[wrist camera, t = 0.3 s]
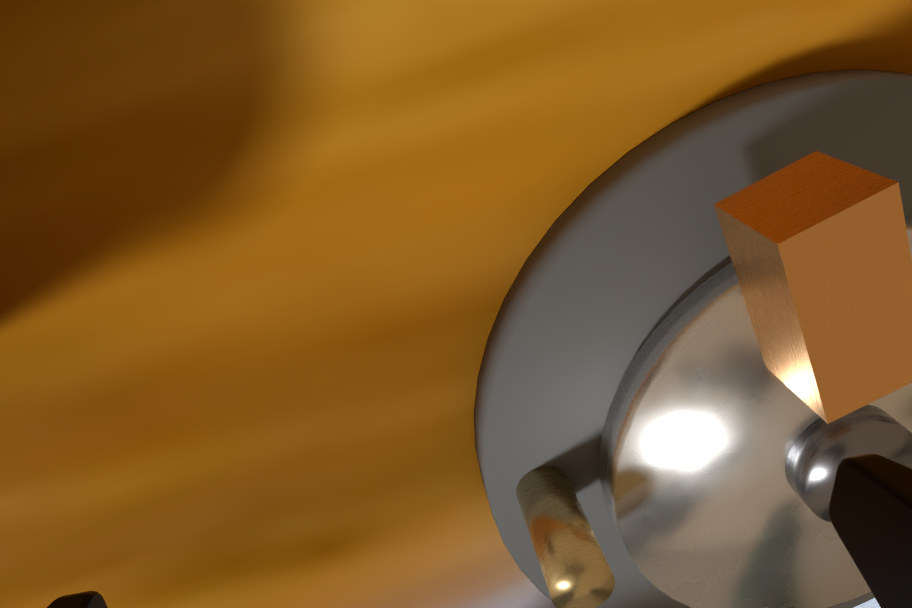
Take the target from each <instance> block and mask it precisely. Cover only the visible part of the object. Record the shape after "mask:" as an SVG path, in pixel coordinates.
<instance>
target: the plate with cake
mask: <svg viewBox="0 0 912 608" xmlns="http://www.w3.org/2000/svg"><path fill="white" fill-rule="evenodd" d="M714 207H715V211H716V214H717V217H718V220H719V223H720V226H721V229H722V232H723V235H724V239H725V242H726V245H727V248H728V251H729V254H730V257H731V260H732V262H731V263H730V264H728V265H727V266H725V267H724V268H723V269H721V270H720V271H718V272H717V273H716V274H714V275H713V276H712V277H710V278H709V279H707V280H706V281H705V282H703V283H702V284H701V285H699V286H698V287H697V288H696V289H695V290H694V291H693V292H692V293H690V294H689V295H688V296H687V297H686V298H685V299H684V300H683V301H682V302H680V303H679V304H678V305H677V306H676V307H675V308H674V309H673V310H672V311H671V312H670V313H669V315H668V316H667V317H666V318H665V319H664V320H663V321H662V322H661V323H660V324H659V326H658V327H657V328H656V329H655V330H654V331H653V332H652V334H651V335H650V336H649V338H648V339H647V340H646V342H645V343H644V345H643V346H642V347H641V349H640V350H639V352H638V353H637V354H636V356H635V357H634V359H633V360H632V362H631V364H630V366H629V367H628V369H627V371H626V373H625V375H624V376H623V378H622V380H621V382H620V383H619V386H618V388H617V390H616V393H615V395H614V398H613V400H612V403H611V405H610V408H609V410H608V413H607V417H606V421H605V425H604V429H603V433H602V437H601V447H600V456H599V470H600V484H601V489H602V493H603V498H604V502H605V505H606V508H607V510H608V512H609V515H610V517H611V519H612V522H613V524H614V526H615V528H616V530H617V532H618V534H619V536H620V538H621V540H622V542H623V544H624V546H625V548H626V550H627V552H628V554H629V556H630V557H631V559H632V560H633V562H634V563H635V565H636V566H637V568H638V569H639V571H640V572H641V573H642V574H643V575H644V576H645V577H646V578H647V579H648V580H649V581H650V582H651V583H652V584H653V585H654V586H655V587H656V588H658V589H659V590H660V591H662V592H663V593H665V594H666V595H668V596H669V597H670V598H672V599H674V600H676V601H678V602H680V603H682V604H685V605H687V606H689V607H691V608H828V607H831V606H834V605H837V604H840V603H843V602H846V601H849V600H852V599H855V598H857V597H859V596H862V595H864V594H866V593H869V592H871V590H870V588H869V587H868V585H867V583H866V581H865V580H864V578H863V576H862V575H861V573H860V571H859V570H858V568H857V566H856V564H855V563H854V561H853V559H852V558H851V556H850V554H849V553H848V551H847V549H846V547H845V546H844V544H843V542H842V541H841V539H840V537H839V536H838V534H837V532H836V530H835V529H834V527H833V525H832V522H831V520H830V516H829V502H830V497H831V493H832V488H833V484H834V479H835V475H836V470H837V467H838V464H839V463H840V462H841V461H842V459H844V458H847V457H852V456H858V455H864V454H878V455H881V456H883V457H886V458H888V459H890V460H892V461H895V462H897V463H899V464H902V465H904V466H906V467H909V468H911V469H912V216H904V212H903V206H902V200H901V194H900V188H899V182H897V181H894V180H891V179H889V178H886V177H883V176H881V175H878V174H876V173H873V172H870V171H868V170H865V169H862V168H860V167H857V166H855V165H852V164H849V163H847V162H844V161H841V160H839V159H836V158H833V157H831V156H828V155H826V154H823V153H820V152H818V151H815V152H813V153H811V154H809V155H807V156H805V157H803V158H801V159H799V160H798V161H796V162H794V163H792V164H790V165H788V166H786V167H784V168H782V169H780V170H778V171H776V172H775V173H773V174H771V175H769V176H767V177H765V178H763V179H761V180H759V181H757V182H755V183H753V184H752V185H750V186H748V187H746V188H744V189H742V190H740V191H738V192H736V193H734V194H732V195H730V196H729V197H727V198H725V199H723V200H721V201H719V202H717V203H715V204H714Z"/></svg>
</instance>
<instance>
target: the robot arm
mask: <svg viewBox="0 0 912 608" xmlns="http://www.w3.org/2000/svg"><path fill="white" fill-rule="evenodd" d="M829 516H830V520H831V522H832V525H833V527H834V529H835V530H836V532H837V534H838V536H839V537H840V539H841V541H842V542H843V544H844V546H845V547H846V549H847V551H848V553H849V554H850V556H851V558H852V559H853V561H854V563H855V564H856V566H857V568H858V570H859V571H860V573H861V575H862V576H863V578H864V580H865V581H866V583H867V585H868V587H869V588H870V590H871V592H872V593H873V595H874V597H875V598H876V600H877V602H878V604H879V605H880V607H881V608H912V469H911V468H909V467H906V466H904V465H902V464H899V463H897V462H895V461H892V460H890V459H888V458H886V457H883V456H881V455H878V454H864V455H858V456H852V457H847V458H844V459H842V461H841V462H840V463H839V464H838V467H837V470H836V475H835V479H834V484H833V488H832V493H831V497H830V502H829ZM47 608H108V607H107V605H106V603H105V601H104V599H103V597H102V596H101V595H100V594H99V593H98V592H96V591H88V592H82V593H76V594H71V595H65V596H62V597H59V598H57V599H56V600H54V601H53V602H52V603H51V604H50V605H49V606H48V607H47Z"/></svg>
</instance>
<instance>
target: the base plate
mask: <svg viewBox="0 0 912 608" xmlns="http://www.w3.org/2000/svg"><path fill="white" fill-rule="evenodd" d="M815 151H818V152H820V153H823V154H826V155H828V156H831V157H833V158H836V159H839V160H841V161H844V162H847V163H849V164H852V165H855V166H857V167H860V168H862V169H865V170H868V171H870V172H873V173H876V174H878V175H881V176H883V177H886V178H889V179H891V180H894V181H897V182H899V188H900V194H901V200H902V206H903V212H904V216H912V74H906V73H901V72H888V71H874V70H860V69H854V70H842V71H829V72H817V73H809V74H804V75H800V76H795V77H791V78H786V79H782V80H777V81H773V82H768V83H764V84H761V85H758V86H756V87H753V88H750V89H747V90H745V91H742V92H739V93H736V94H734V95H731V96H728V97H725V98H723V99H720V100H717V101H715V102H713V103H711V104H709V105H707V106H705V107H703V108H701V109H699V110H697V111H695V112H693V113H691V114H689V115H687V116H686V117H684V118H682V119H680V120H678V121H676V122H674V123H672V124H670V125H669V126H667V127H666V128H664V129H662V130H661V131H659V132H658V133H656V134H655V135H653V136H652V137H650V138H649V139H647V140H646V141H644V142H643V143H641V144H640V145H638V146H637V147H635V148H634V149H632V150H631V151H629V152H628V153H627V154H626V155H624V156H623V157H622V158H621V159H620V160H618V161H617V162H616V163H615V164H614V165H612V166H611V167H610V168H609V169H608V170H607V171H605V172H604V173H603V174H602V175H601V176H599V177H598V178H597V179H596V180H595V181H594V182H592V183H591V184H590V185H589V186H588V187H587V188H586V189H585V190H584V191H583V192H582V193H581V194H580V195H579V196H578V198H577V199H576V200H575V201H574V202H573V203H572V204H571V205H570V206H569V207H568V208H567V209H566V210H565V211H564V212H563V213H562V215H561V216H560V217H559V218H558V219H557V220H556V221H555V222H554V223H553V225H552V226H551V227H550V229H549V230H548V231H547V233H546V234H545V235H544V237H543V238H542V240H541V241H540V242H539V244H538V245H537V246H536V248H535V249H534V250H533V252H532V253H531V254H530V256H529V257H528V258H527V260H526V261H525V263H524V265H523V267H522V268H521V270H520V272H519V274H518V275H517V277H516V279H515V281H514V282H513V284H512V286H511V288H510V290H509V291H508V293H507V295H506V297H505V298H504V300H503V303H502V305H501V308H500V310H499V312H498V315H497V317H496V320H495V322H494V325H493V327H492V330H491V332H490V334H489V337H488V340H487V344H486V347H485V351H484V355H483V359H482V363H481V367H480V371H479V374H478V380H477V389H476V398H475V408H474V427H475V447H476V452H477V457H478V462H479V466H480V471H481V476H482V480H483V483H484V487H485V490H486V494H487V497H488V501H489V504H490V508H491V511H492V515H493V517H494V520H495V522H496V525H497V527H498V530H499V532H500V535H501V537H502V540H503V542H504V544H505V546H506V547H507V549H508V551H509V552H510V554H511V555H512V557H513V559H514V560H515V562H516V563H517V565H518V566H519V568H520V570H521V571H522V572H523V573H524V574H525V575H526V576H527V577H528V578H529V579H530V580H531V582H532V583H533V584H534V585H535V586H536V587H537V588H538V589H539V590H540V591H541V592H542V593H543V594H545V595H546V596H547V597H548V598H550V599H551V596H550V593H549V590H548V587H547V584H546V582H545V579H544V576H543V573H542V570H541V567H540V564H539V561H538V558H537V555H536V552H535V549H534V546H533V544H532V541H531V538H530V535H529V532H528V529H527V526H526V523H525V520H524V517H523V514H522V511H521V508H520V506H519V503H518V500H517V497H516V488H517V485H518V483H519V481H520V480H521V478H522V477H523V476H524V475H525V474H527V473H528V472H530V471H531V470H533V469H536V468H539V467H544V466H552V467H556V468H559V469H561V470H563V471H564V472H565V473H566V474H567V476H568V478H569V480H570V482H571V484H572V486H573V488H574V491H575V493H576V495H577V497H578V499H579V502H580V504H581V506H582V508H583V510H584V512H585V515H586V517H587V519H588V521H589V523H590V526H591V528H592V530H593V532H594V534H595V537H596V539H597V541H598V543H599V545H600V547H601V550H602V552H603V554H604V556H605V558H606V561H607V563H608V565H609V567H610V569H611V571H612V574H613V576H614V579H615V587H614V590H613V592H612V594H611V595H610V597H609V598H608V599H607V600H606V601H605V602H604V603H602V604H601V605H599V606H598V607H596V608H691V607H689V606H687V605H685V604H682V603H680V602H678V601H676V600H674V599H672V598H670V597H669V596H668V595H666V594H665V593H663V592H662V591H660V590H659V589H658V588H656V587H655V586H654V585H653V584H652V583H651V582H650V581H649V580H648V579H647V578H646V577H645V576H644V575H643V574H642V573H641V572H640V571H639V569H638V568H637V566H636V565H635V563H634V562H633V560H632V559H631V557H630V556H629V554H628V552H627V550H626V548H625V546H624V544H623V542H622V540H621V538H620V536H619V534H618V532H617V530H616V528H615V526H614V524H613V522H612V519H611V517H610V515H609V512H608V510H607V508H606V505H605V502H604V498H603V493H602V489H601V484H600V470H599V456H600V447H601V437H602V433H603V429H604V425H605V421H606V417H607V413H608V410H609V408H610V405H611V403H612V400H613V398H614V395H615V393H616V390H617V388H618V386H619V383H620V382H621V380H622V378H623V376H624V375H625V373H626V371H627V369H628V367H629V366H630V364H631V362H632V360H633V359H634V357H635V356H636V354H637V353H638V352H639V350H640V349H641V347H642V346H643V345H644V343H645V342H646V340H647V339H648V338H649V336H650V335H651V334H652V332H653V331H654V330H655V329H656V328H657V327H658V326H659V324H660V323H661V322H662V321H663V320H664V319H665V318H666V317H667V316H668V315H669V313H670V312H671V311H672V310H673V309H674V308H675V307H676V306H677V305H678V304H679V303H680V302H682V301H683V300H684V299H685V298H686V297H687V296H688V295H689V294H690V293H692V292H693V291H694V290H695V289H696V288H697V287H698V286H699V285H701V284H702V283H703V282H705V281H706V280H707V279H709V278H710V277H712V276H713V275H714V274H716V273H717V272H718V271H720V270H721V269H723V268H724V267H725V266H727V265H728V264H730V263H731V262H732V260H731V257H730V254H729V251H728V248H727V245H726V242H725V239H724V235H723V232H722V229H721V226H720V223H719V220H718V217H717V214H716V211H715V207H714V204H715V203H717V202H719V201H721V200H723V199H725V198H727V197H729V196H730V195H732V194H734V193H736V192H738V191H740V190H742V189H744V188H746V187H748V186H750V185H752V184H753V183H755V182H757V181H759V180H761V179H763V178H765V177H767V176H769V175H771V174H773V173H775V172H776V171H778V170H780V169H782V168H784V167H786V166H788V165H790V164H792V163H794V162H796V161H798V160H799V159H801V158H803V157H805V156H807V155H809V154H811V153H813V152H815ZM873 598H874V595H873V593H872V592H869V593H866V594H864V595H862V596H859V597H857V598H855V599H852V600H849V601H846V602H843V603H840V604H837V605H834V606H831V607H828V608H853V607H855V606H857V605H860V604H862V603H864V602H866V601H868V600H871V599H873ZM551 600H552V599H551Z"/></svg>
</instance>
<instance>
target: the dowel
mask: <svg viewBox="0 0 912 608" xmlns="http://www.w3.org/2000/svg"><path fill="white" fill-rule="evenodd" d="M516 497H517V500H518V503H519V506H520V508H521V511H522V514H523V517H524V520H525V523H526V526H527V529H528V532H529V535H530V538H531V541H532V544H533V546H534V549H535V552H536V555H537V558H538V561H539V564H540V567H541V570H542V573H543V576H544V579H545V582H546V584H547V587H548V590H549V593H550V596H551V599H552V602H553V603H554V605H555V606H556V607H557V608H596V607H598V606H599V605H601V604H602V603H604V602H605V601H606V600H607V599H608V598H609V597H610V595H611V594H612V592H613V590H614V587H615V579H614V576H613V574H612V571H611V569H610V567H609V565H608V563H607V561H606V558H605V556H604V554H603V552H602V550H601V547H600V545H599V543H598V541H597V539H596V537H595V534H594V532H593V530H592V528H591V526H590V523H589V521H588V519H587V517H586V515H585V512H584V510H583V508H582V506H581V504H580V502H579V499H578V497H577V495H576V493H575V491H574V488H573V486H572V484H571V482H570V480H569V478H568V476H567V474H566V473H565V472H564V471H563V470H561V469H559V468H556V467H552V466H544V467H539V468H536V469H533V470H531V471H530V472H528V473H527V474H525V475H524V476H523V477H522V478H521V480H520V481H519V483H518V485H517V488H516Z"/></svg>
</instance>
